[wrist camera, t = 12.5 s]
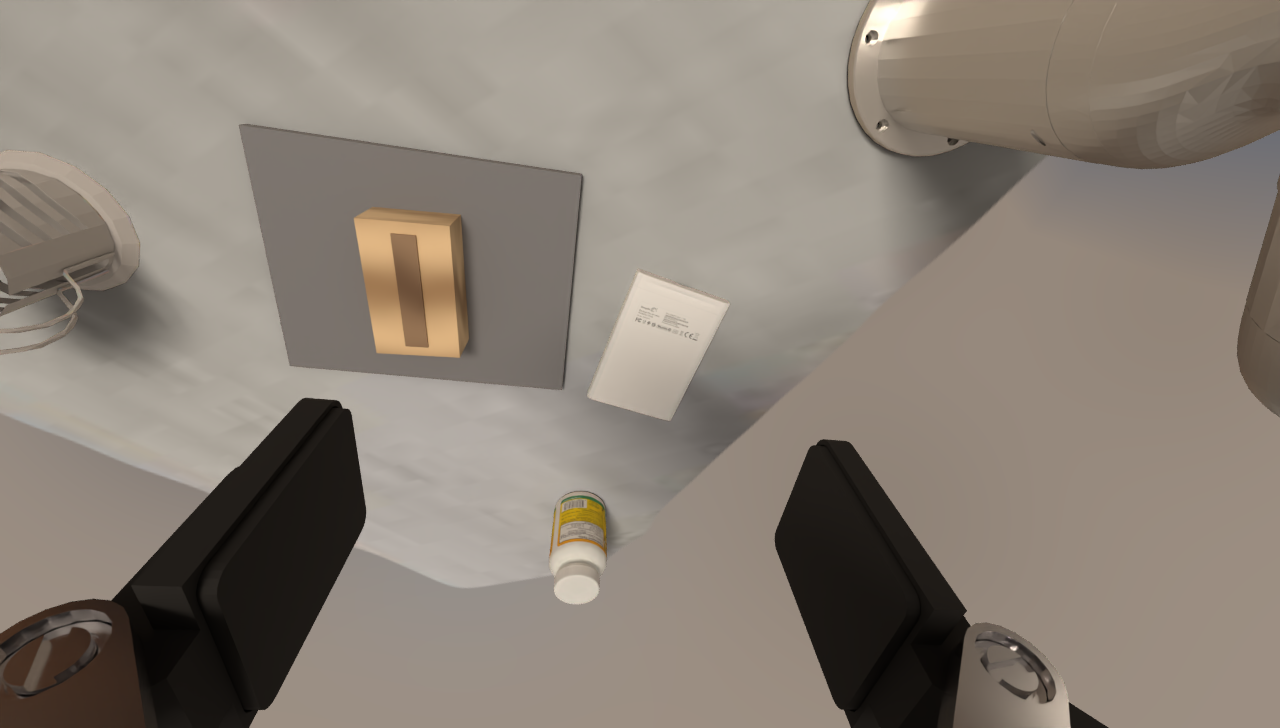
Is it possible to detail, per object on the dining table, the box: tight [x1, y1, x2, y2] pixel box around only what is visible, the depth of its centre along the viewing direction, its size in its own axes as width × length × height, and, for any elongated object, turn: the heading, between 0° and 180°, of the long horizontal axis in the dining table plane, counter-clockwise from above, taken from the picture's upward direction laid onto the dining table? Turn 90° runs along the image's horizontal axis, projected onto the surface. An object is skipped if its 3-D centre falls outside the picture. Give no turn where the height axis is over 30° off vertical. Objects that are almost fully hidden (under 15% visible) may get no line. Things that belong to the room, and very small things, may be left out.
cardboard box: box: [354, 207, 469, 358], centre depth 37 cm, size 10×6×3 cm, turn 174°
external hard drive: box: [587, 269, 730, 421], centre depth 43 cm, size 2×8×12 cm
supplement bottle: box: [549, 491, 607, 604], centre depth 48 cm, size 5×5×10 cm
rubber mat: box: [239, 124, 582, 390], centre depth 39 cm, size 22×18×1 cm
